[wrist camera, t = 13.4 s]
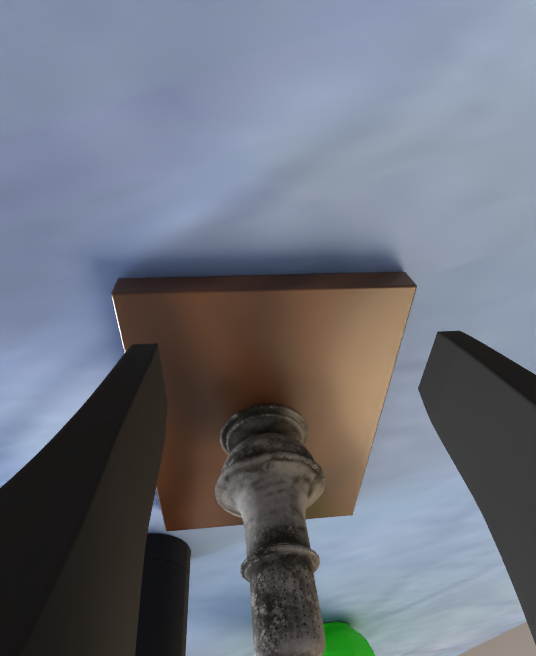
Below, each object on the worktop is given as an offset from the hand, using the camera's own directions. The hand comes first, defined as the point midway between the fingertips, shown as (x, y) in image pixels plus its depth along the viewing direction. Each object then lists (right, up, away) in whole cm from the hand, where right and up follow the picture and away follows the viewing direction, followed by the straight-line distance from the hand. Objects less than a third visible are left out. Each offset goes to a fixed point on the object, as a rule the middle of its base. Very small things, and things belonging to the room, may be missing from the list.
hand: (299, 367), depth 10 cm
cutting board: (-1, -5, +15) cm, 15 cm away
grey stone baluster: (-1, -5, +13) cm, 14 cm away
